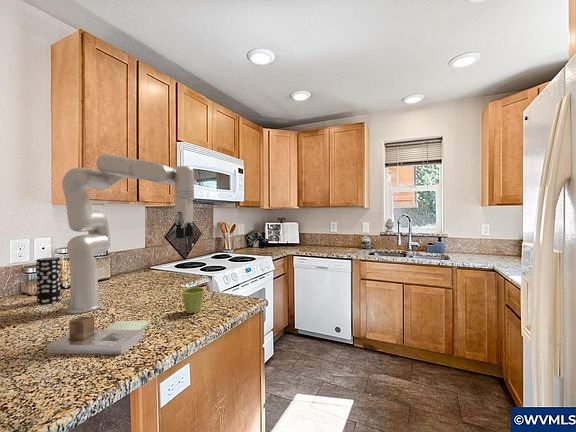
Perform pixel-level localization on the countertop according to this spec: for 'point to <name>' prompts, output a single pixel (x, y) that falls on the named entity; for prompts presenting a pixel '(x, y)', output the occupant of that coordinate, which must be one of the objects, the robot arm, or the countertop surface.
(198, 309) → the plant pot
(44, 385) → the countertop surface
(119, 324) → the sage pad
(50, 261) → the spotted tube
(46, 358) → the countertop surface
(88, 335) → the walnut block
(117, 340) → the socket plate
